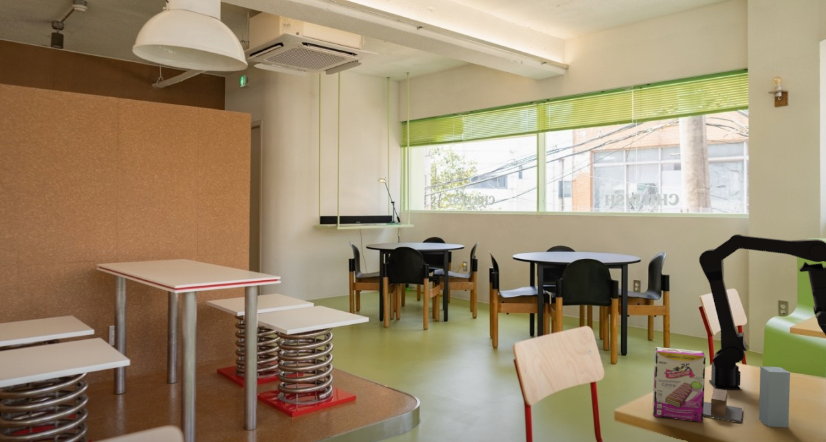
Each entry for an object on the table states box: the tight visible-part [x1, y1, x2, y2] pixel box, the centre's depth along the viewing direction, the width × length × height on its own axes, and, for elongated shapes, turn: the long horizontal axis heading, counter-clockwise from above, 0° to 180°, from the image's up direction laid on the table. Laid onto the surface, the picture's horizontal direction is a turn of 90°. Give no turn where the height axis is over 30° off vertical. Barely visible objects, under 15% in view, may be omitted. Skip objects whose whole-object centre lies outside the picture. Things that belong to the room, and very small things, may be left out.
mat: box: [703, 401, 743, 424], centre depth 145 cm, size 10×10×1 cm
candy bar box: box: [652, 346, 707, 423], centre depth 141 cm, size 11×5×16 cm, turn 71°
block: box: [758, 366, 791, 428], centre depth 138 cm, size 4×4×13 cm
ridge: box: [710, 388, 728, 417], centre depth 145 cm, size 3×9×4 cm, turn 149°
